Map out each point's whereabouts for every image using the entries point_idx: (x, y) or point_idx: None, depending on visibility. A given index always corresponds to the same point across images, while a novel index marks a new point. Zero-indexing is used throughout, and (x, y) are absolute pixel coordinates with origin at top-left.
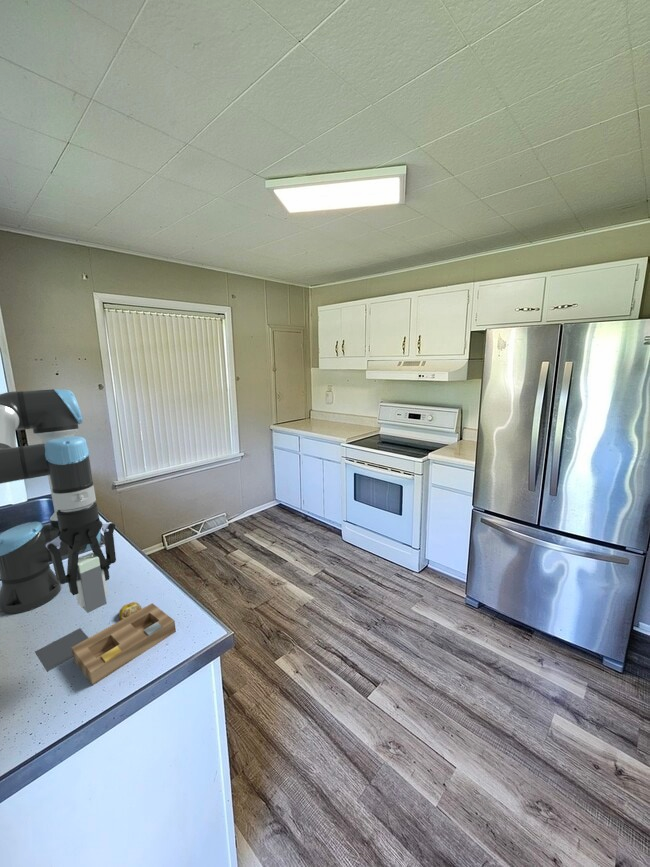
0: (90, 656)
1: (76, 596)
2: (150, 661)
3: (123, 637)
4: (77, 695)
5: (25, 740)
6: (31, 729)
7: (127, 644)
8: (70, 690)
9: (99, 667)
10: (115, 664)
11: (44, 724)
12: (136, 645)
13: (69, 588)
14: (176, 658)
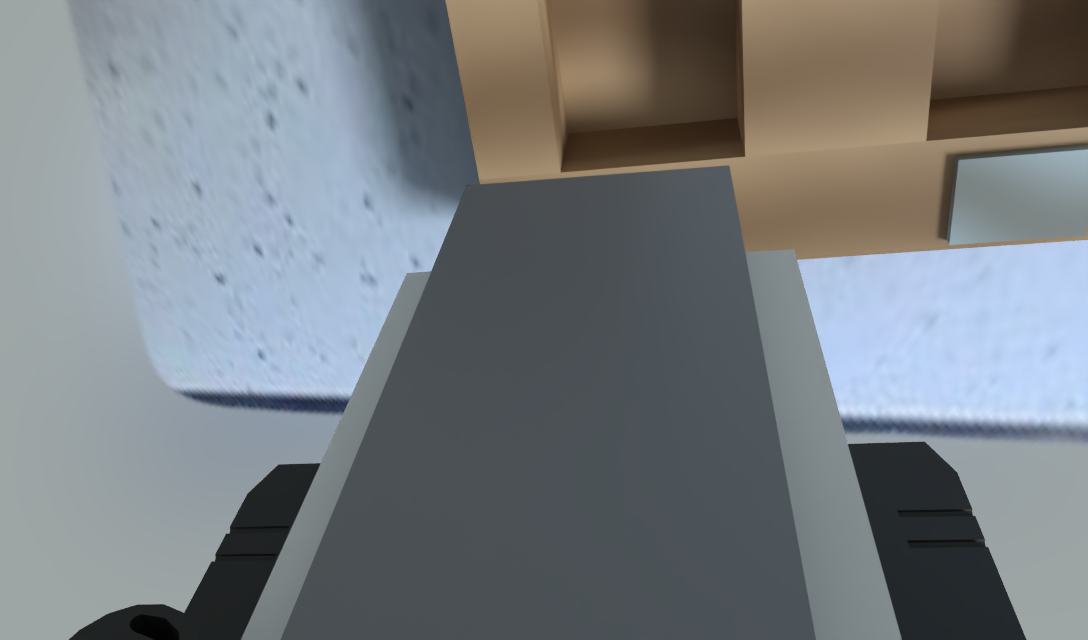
0: (530, 117)
1: (378, 346)
2: (848, 283)
3: (802, 96)
4: (430, 208)
5: (199, 295)
6: (217, 253)
7: (784, 208)
8: (399, 136)
9: None
10: None
11: (272, 270)
12: (829, 250)
13: (221, 561)
14: (965, 377)
